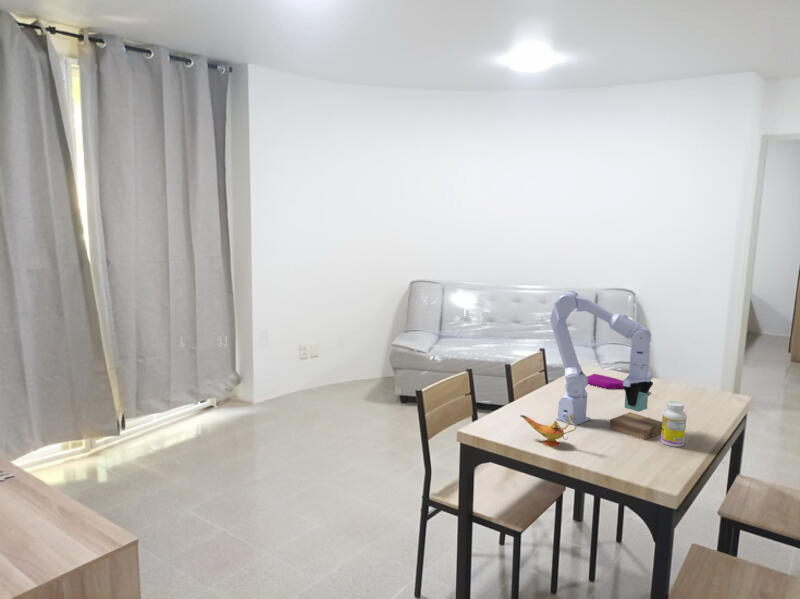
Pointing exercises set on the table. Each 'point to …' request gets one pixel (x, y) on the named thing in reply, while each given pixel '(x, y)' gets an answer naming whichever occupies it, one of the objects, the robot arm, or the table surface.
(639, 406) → the teal cube
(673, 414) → the supplement bottle
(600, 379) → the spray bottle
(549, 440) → the magic lamp
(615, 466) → the table surface
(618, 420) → the walnut base
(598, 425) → the table surface
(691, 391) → the table surface
